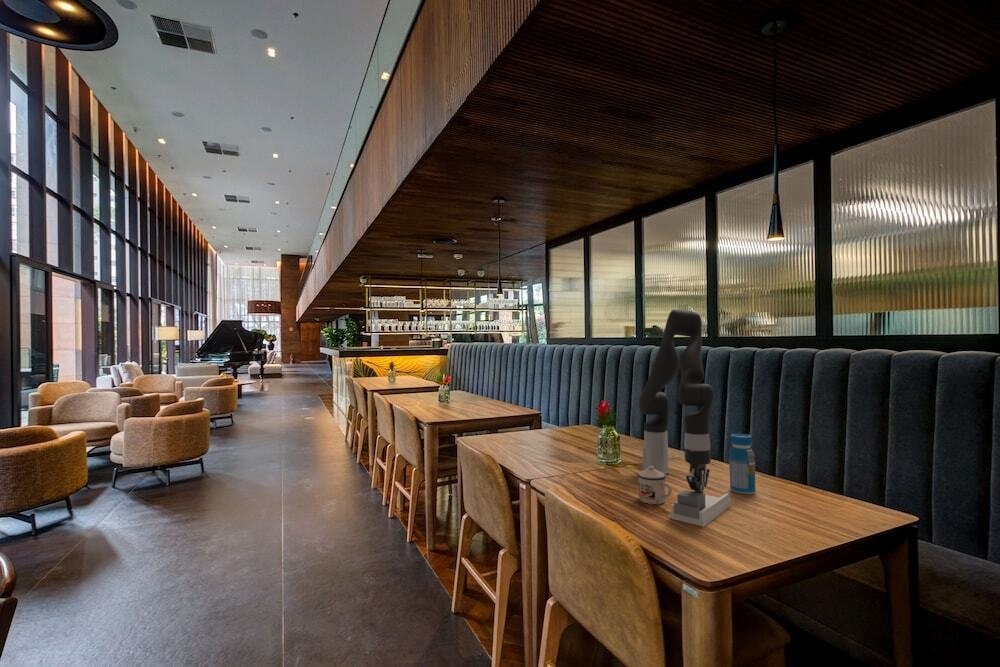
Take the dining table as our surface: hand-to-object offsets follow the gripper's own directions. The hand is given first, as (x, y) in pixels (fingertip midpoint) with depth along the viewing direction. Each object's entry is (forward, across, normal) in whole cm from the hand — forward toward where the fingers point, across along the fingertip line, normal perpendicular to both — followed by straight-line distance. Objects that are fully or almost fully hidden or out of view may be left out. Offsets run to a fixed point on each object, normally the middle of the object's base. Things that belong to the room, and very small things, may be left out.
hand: (699, 502), depth 143 cm
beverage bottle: (+4, -32, +3) cm, 33 cm away
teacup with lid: (+4, -1, -15) cm, 15 cm away
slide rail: (+4, -2, 0) cm, 4 cm away
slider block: (+1, +6, 0) cm, 6 cm away
